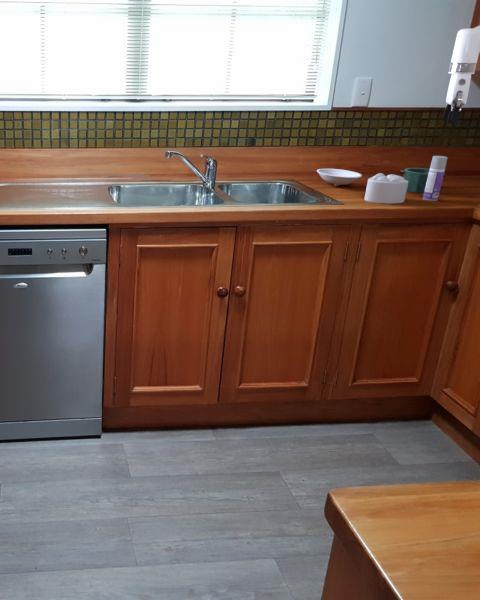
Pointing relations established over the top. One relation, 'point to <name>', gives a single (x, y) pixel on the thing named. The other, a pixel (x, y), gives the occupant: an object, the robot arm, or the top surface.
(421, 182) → the pot
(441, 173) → the container
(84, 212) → the top surface
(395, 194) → the lumpy-topped squat cylinder
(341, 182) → the dish
